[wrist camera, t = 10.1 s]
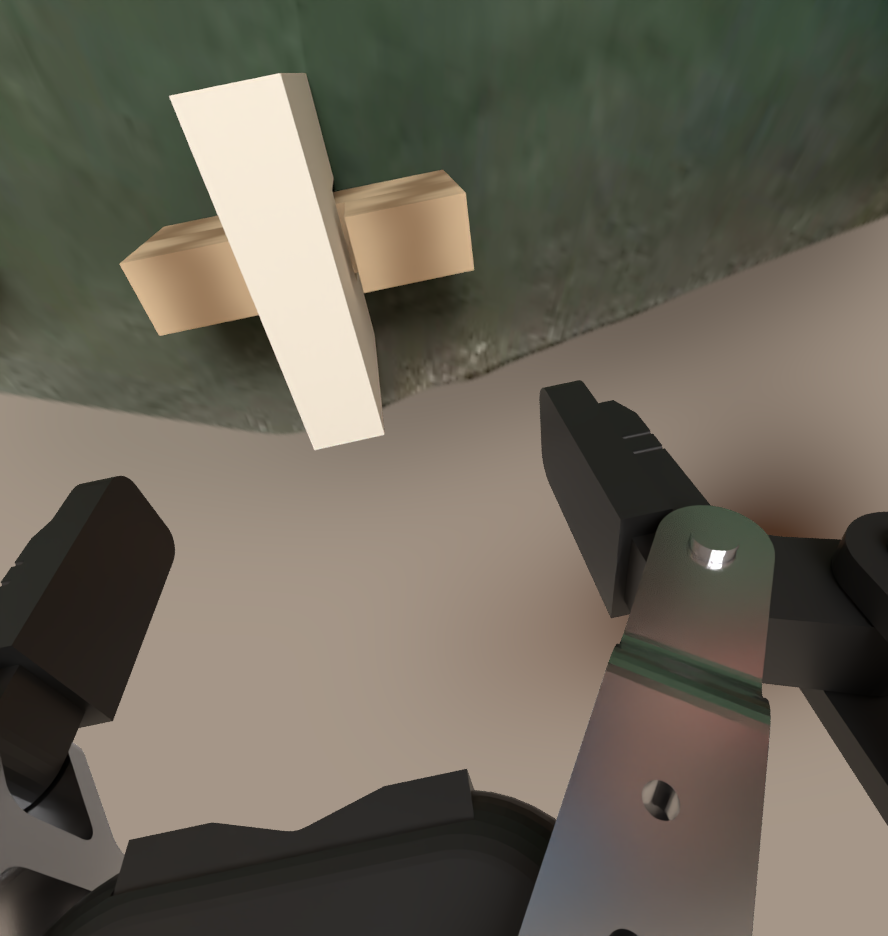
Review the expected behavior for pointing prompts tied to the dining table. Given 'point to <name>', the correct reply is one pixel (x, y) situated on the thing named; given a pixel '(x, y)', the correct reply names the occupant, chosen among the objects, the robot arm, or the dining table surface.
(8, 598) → the robot arm
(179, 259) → the oak base
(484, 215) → the dining table surface
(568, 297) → the dining table surface
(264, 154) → the white rectangular block
